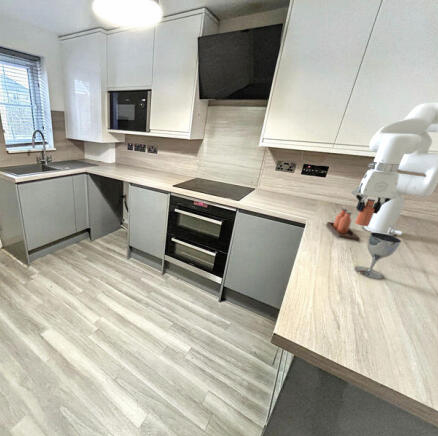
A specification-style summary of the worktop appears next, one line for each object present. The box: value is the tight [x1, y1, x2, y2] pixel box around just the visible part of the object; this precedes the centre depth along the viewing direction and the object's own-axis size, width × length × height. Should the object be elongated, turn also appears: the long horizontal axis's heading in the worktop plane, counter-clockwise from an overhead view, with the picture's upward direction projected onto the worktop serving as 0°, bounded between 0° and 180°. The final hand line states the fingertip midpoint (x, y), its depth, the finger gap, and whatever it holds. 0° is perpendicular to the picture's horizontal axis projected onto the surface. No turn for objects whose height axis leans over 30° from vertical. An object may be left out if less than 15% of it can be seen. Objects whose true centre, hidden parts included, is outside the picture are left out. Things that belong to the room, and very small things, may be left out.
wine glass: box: [356, 232, 402, 280], centre depth 86 cm, size 8×8×15 cm
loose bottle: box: [354, 198, 376, 227], centre depth 98 cm, size 4×4×11 cm
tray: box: [326, 221, 361, 242], centre depth 124 cm, size 19×8×2 cm, turn 159°
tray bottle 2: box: [337, 211, 353, 234], centre depth 122 cm, size 4×4×11 cm
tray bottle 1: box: [333, 207, 348, 229], centre depth 127 cm, size 4×4×11 cm
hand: (366, 211), depth 98 cm, fingers closed on loose bottle, 4 cm apart
